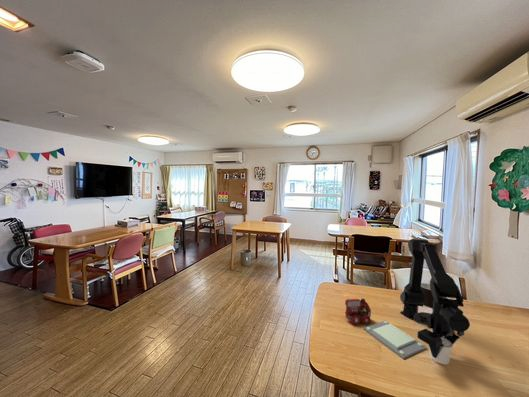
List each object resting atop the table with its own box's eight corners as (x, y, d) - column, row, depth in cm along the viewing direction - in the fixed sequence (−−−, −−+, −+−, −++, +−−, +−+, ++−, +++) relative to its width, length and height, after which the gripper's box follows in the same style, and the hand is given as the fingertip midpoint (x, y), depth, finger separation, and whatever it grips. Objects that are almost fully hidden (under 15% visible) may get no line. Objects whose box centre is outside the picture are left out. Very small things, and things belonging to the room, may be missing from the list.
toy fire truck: (374, 324, 101) (375, 302, 101) (348, 325, 100) (349, 303, 99) (365, 315, 108) (366, 295, 108) (341, 316, 107) (342, 296, 106)
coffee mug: (418, 298, 125) (419, 281, 125) (437, 303, 120) (438, 286, 120) (418, 307, 116) (419, 289, 115) (439, 313, 111) (440, 294, 110)
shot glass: (423, 351, 85) (424, 334, 84) (439, 351, 85) (440, 333, 85) (438, 366, 78) (440, 347, 77) (456, 365, 78) (457, 346, 78)
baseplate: (385, 322, 103) (385, 318, 103) (426, 348, 87) (426, 344, 86) (363, 329, 97) (363, 325, 97) (403, 359, 81) (403, 354, 81)
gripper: (433, 298, 92) (430, 334, 93) (404, 308, 84) (401, 346, 85) (466, 313, 82) (463, 353, 83) (436, 325, 74) (433, 369, 75)
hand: (439, 354), depth 82 cm, fingers closed on shot glass, 6 cm apart
